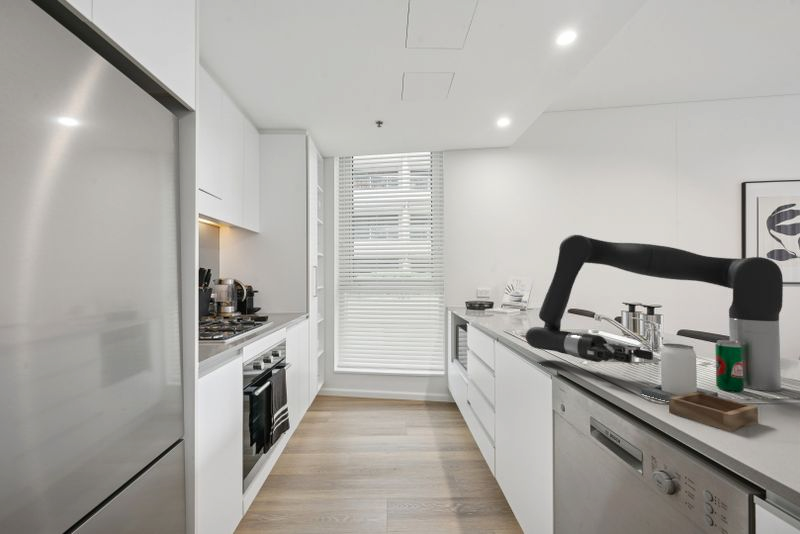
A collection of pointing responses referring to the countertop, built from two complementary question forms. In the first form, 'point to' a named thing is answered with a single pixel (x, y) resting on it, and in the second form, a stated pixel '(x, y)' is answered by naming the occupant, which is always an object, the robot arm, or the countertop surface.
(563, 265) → the robot arm
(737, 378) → the soda can
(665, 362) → the can
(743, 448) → the countertop surface
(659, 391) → the gray rectangular tray
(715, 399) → the open wooden box
